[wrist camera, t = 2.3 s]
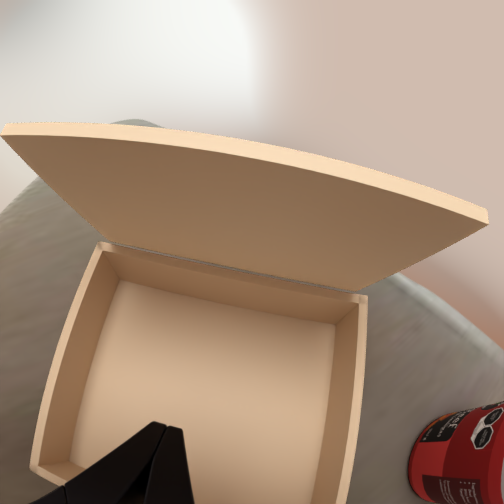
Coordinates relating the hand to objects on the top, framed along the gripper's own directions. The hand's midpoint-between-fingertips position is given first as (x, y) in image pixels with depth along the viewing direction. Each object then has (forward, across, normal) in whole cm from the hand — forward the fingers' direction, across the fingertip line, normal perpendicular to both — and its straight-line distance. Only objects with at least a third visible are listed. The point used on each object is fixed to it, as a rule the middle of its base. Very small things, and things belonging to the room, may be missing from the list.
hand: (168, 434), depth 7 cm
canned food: (+8, -20, +11) cm, 24 cm away
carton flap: (+7, 0, -4) cm, 8 cm away
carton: (+10, 0, +8) cm, 13 cm away
